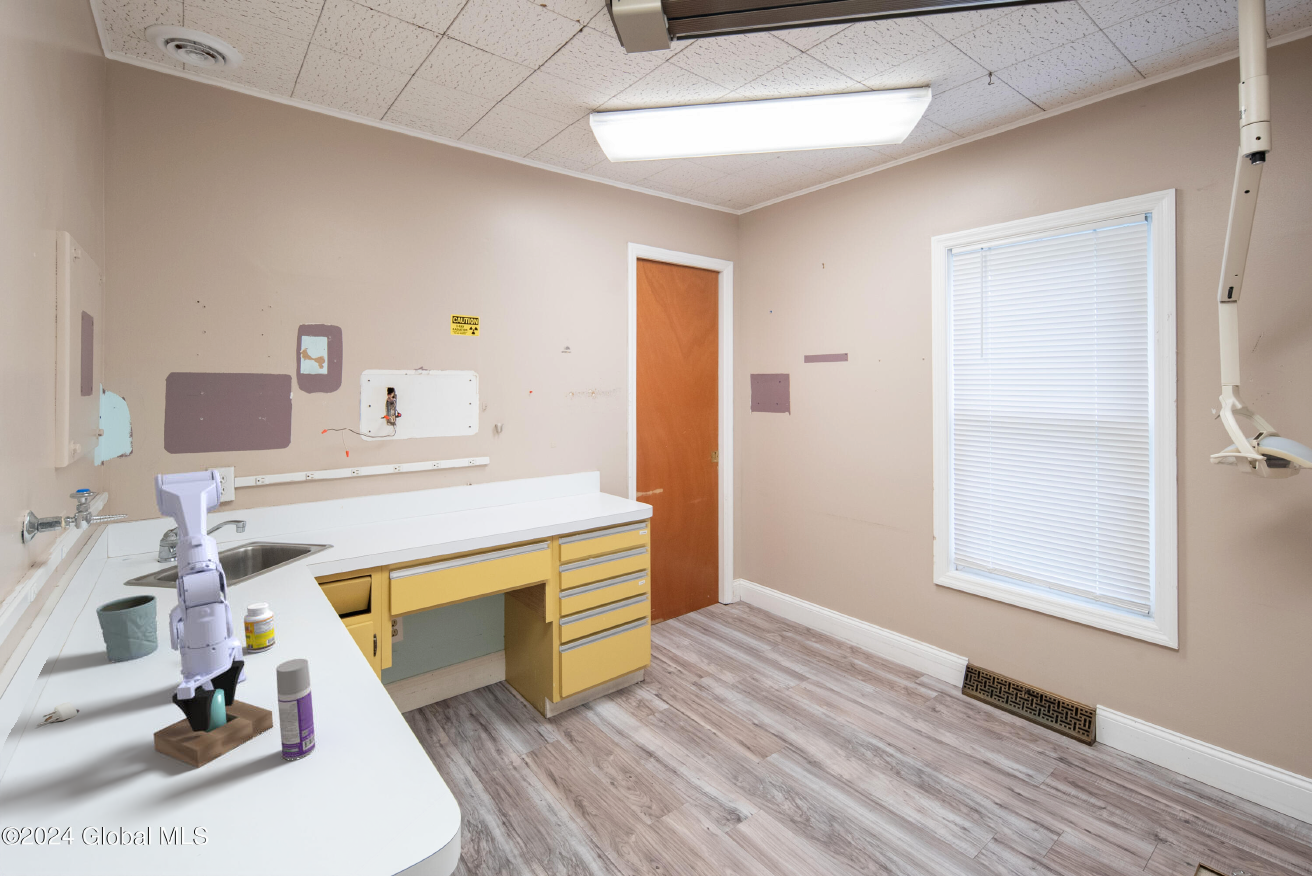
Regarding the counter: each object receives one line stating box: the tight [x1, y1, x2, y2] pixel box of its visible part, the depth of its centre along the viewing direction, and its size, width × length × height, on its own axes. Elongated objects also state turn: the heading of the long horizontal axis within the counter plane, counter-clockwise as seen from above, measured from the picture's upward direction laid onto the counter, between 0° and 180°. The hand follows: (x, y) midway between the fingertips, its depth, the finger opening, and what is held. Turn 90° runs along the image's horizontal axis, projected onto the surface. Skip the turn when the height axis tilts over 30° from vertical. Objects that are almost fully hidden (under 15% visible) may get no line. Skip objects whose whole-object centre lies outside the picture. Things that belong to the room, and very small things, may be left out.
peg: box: [203, 689, 227, 733], centre depth 103 cm, size 4×4×8 cm
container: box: [275, 658, 316, 761], centre depth 98 cm, size 5×5×15 cm
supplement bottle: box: [243, 602, 276, 654], centre depth 137 cm, size 6×6×10 cm
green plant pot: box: [96, 594, 159, 663], centre depth 136 cm, size 10×10×12 cm
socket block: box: [153, 698, 274, 768], centre depth 103 cm, size 12×12×3 cm
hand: (214, 717), depth 103 cm, fingers open, 7 cm apart
